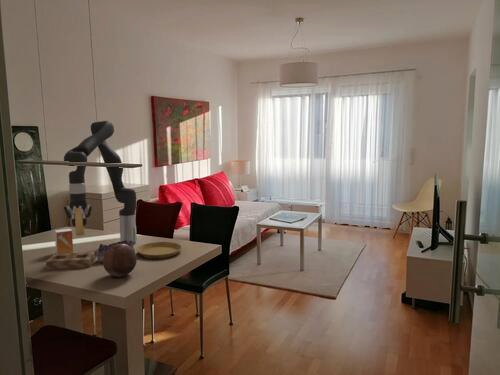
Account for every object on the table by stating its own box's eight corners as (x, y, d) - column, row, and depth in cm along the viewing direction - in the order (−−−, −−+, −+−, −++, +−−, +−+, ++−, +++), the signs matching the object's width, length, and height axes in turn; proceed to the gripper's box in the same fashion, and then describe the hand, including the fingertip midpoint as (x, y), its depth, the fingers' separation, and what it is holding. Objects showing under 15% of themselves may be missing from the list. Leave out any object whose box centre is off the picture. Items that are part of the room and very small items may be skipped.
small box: (57, 255, 214) (56, 232, 212) (55, 252, 219) (54, 230, 218) (73, 253, 218) (72, 230, 217) (71, 250, 224) (70, 228, 222)
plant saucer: (188, 255, 215) (187, 249, 214) (144, 263, 202) (143, 256, 202) (172, 245, 235) (172, 239, 235) (132, 251, 223) (131, 245, 223)
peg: (85, 233, 201) (83, 206, 199) (83, 235, 197) (81, 208, 195) (77, 233, 200) (75, 206, 198) (75, 235, 196) (73, 208, 195)
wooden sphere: (142, 271, 190) (141, 240, 188) (128, 282, 175) (126, 249, 173) (113, 269, 192) (112, 239, 190) (97, 280, 178) (95, 248, 176)
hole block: (94, 259, 207) (94, 252, 207) (89, 267, 196) (89, 259, 195) (54, 261, 204) (53, 254, 203) (46, 269, 192) (45, 261, 192)
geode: (105, 265, 199) (102, 246, 198) (93, 263, 206) (90, 245, 205) (139, 254, 214) (136, 236, 213) (127, 253, 222) (124, 235, 221)
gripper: (94, 190, 201) (96, 223, 203) (64, 191, 198) (66, 224, 201) (90, 192, 193) (92, 226, 196) (60, 193, 191) (62, 228, 193)
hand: (79, 225), depth 198 cm, fingers closed on peg, 4 cm apart
